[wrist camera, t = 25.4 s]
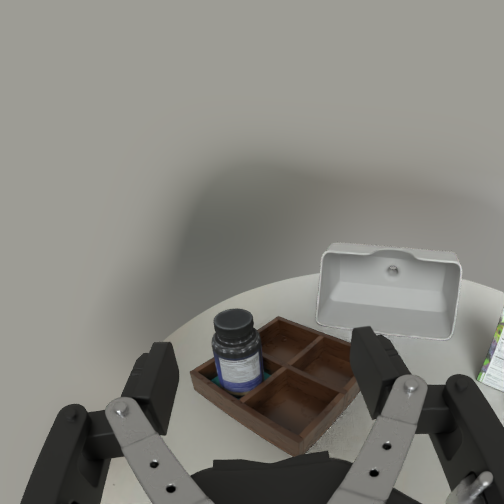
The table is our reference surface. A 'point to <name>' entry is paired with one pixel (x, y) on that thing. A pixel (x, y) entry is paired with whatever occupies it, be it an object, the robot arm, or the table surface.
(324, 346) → the grid
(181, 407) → the table surface
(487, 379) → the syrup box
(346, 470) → the robot arm
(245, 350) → the pill bottle
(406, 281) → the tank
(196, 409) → the table surface
